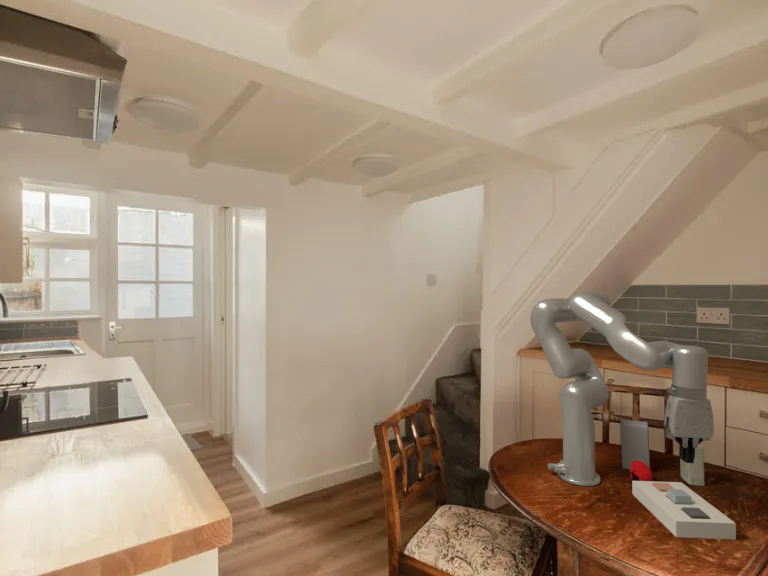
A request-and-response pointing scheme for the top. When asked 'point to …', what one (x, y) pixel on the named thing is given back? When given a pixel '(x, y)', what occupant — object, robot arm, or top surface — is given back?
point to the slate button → (678, 496)
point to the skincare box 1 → (634, 442)
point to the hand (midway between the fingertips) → (686, 460)
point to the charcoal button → (695, 513)
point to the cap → (641, 471)
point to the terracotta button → (662, 486)
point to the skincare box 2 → (694, 468)
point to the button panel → (679, 520)
